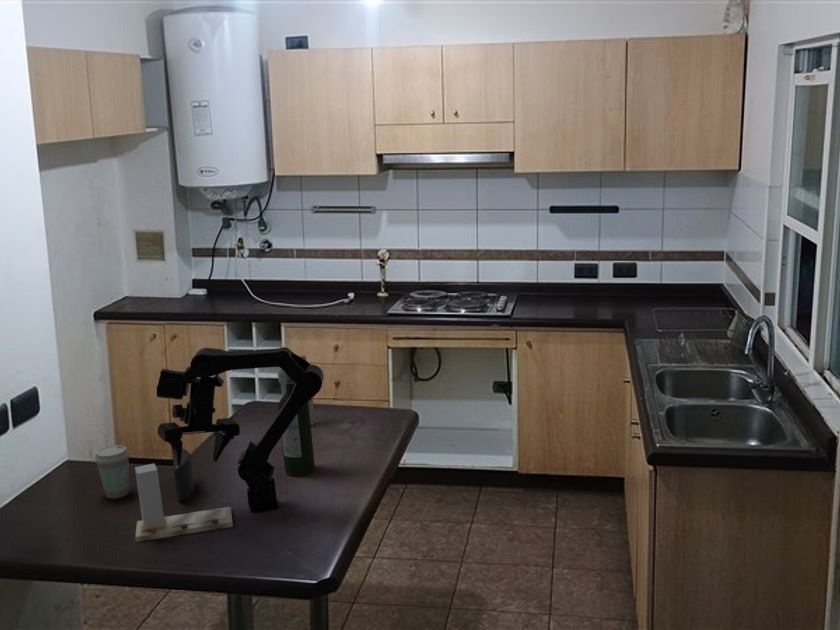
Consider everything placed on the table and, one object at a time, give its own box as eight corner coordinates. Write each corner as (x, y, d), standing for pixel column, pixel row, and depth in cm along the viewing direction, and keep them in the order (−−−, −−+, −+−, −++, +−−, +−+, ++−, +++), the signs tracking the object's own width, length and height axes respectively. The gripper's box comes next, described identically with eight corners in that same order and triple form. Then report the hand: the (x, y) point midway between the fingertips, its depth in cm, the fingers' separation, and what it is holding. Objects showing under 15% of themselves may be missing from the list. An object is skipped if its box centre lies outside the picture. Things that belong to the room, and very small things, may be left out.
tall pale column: (286, 432, 290) (278, 361, 284) (281, 428, 293) (273, 358, 288) (319, 424, 294) (312, 354, 289) (313, 420, 298) (307, 351, 293)
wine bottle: (317, 464, 263) (307, 357, 256) (311, 476, 255) (300, 366, 248) (288, 465, 264) (277, 359, 257) (282, 477, 256) (270, 367, 249)
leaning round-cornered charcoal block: (196, 500, 245) (191, 465, 243) (177, 503, 244) (172, 468, 242) (194, 476, 261) (189, 443, 258) (176, 479, 260) (172, 446, 257)
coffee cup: (124, 501, 248) (118, 457, 245) (94, 500, 249) (87, 456, 247) (140, 487, 256) (134, 444, 253) (110, 486, 258) (104, 444, 255)
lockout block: (162, 518, 233) (154, 463, 229) (164, 525, 228) (157, 469, 225) (142, 522, 231) (134, 467, 228) (145, 530, 227) (137, 473, 224)
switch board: (231, 511, 238) (230, 504, 237) (232, 526, 229) (232, 519, 229) (137, 525, 233) (136, 518, 233) (136, 542, 224) (135, 534, 224)
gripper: (225, 389, 244) (220, 447, 247) (152, 393, 234) (147, 455, 237) (243, 402, 235) (237, 463, 239) (168, 408, 225) (163, 472, 228)
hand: (196, 463), depth 236 cm, fingers open, 9 cm apart
